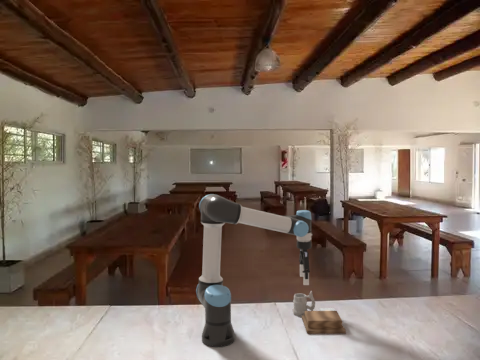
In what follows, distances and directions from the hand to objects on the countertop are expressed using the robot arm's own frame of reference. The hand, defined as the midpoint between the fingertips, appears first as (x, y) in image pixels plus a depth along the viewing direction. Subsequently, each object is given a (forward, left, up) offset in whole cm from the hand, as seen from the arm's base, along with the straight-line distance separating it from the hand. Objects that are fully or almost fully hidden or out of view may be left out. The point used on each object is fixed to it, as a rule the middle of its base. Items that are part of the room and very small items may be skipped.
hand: (304, 280), depth 216 cm
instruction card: (+13, +1, -18) cm, 22 cm away
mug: (0, 0, -18) cm, 18 cm away
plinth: (+7, -15, -18) cm, 24 cm away
